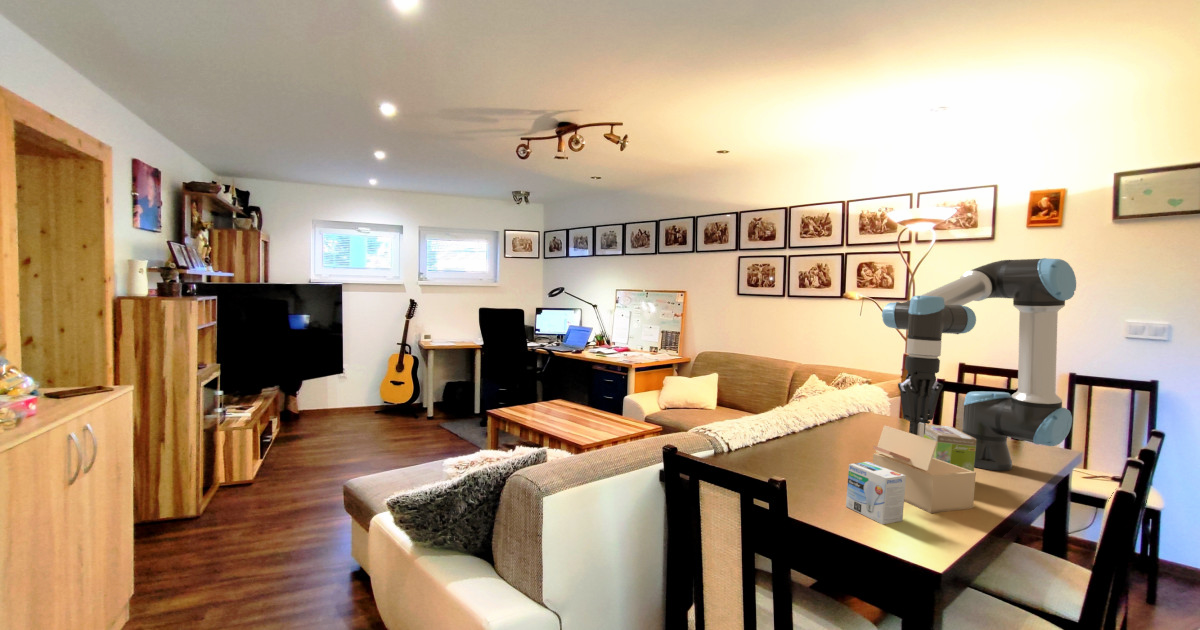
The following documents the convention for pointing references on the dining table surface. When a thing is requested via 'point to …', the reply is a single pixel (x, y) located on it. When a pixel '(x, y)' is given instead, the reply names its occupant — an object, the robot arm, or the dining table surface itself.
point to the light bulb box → (876, 492)
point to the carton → (934, 484)
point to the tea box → (952, 445)
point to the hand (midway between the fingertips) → (915, 447)
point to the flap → (906, 447)
